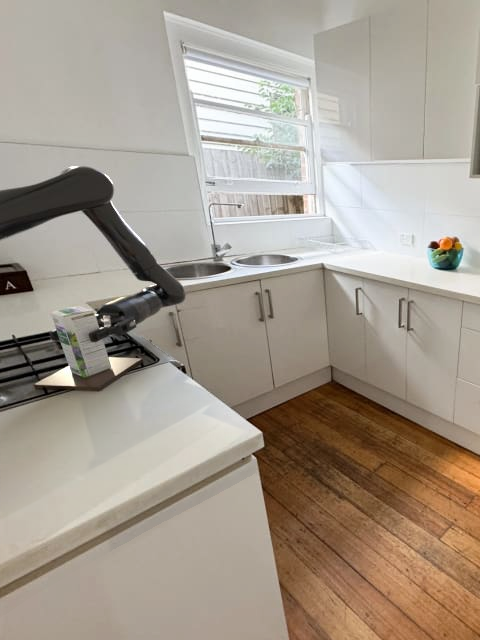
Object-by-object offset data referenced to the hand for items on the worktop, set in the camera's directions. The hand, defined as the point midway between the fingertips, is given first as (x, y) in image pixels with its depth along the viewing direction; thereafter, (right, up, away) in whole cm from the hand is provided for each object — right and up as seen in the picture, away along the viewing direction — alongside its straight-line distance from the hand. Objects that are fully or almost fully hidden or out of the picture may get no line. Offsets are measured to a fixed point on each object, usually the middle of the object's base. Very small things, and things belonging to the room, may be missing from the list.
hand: (71, 337), depth 82 cm
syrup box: (0, -8, +6) cm, 9 cm away
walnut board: (0, -8, +6) cm, 10 cm away
